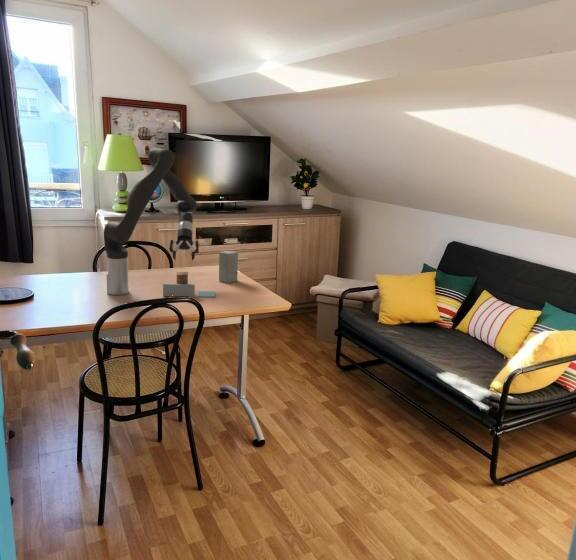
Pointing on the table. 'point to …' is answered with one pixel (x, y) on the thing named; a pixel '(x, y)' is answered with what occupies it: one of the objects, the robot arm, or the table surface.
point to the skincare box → (228, 266)
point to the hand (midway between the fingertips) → (183, 259)
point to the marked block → (182, 277)
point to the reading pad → (206, 294)
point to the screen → (179, 290)
